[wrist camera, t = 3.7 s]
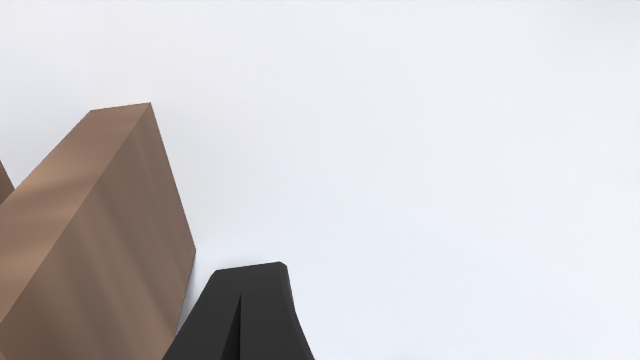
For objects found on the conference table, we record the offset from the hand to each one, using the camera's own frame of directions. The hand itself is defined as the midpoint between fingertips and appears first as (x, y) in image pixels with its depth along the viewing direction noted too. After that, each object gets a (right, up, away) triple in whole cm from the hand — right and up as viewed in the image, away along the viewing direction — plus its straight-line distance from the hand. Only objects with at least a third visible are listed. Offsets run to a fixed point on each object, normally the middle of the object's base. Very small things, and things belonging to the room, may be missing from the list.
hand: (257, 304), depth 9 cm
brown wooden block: (-4, +2, +5) cm, 6 cm away
